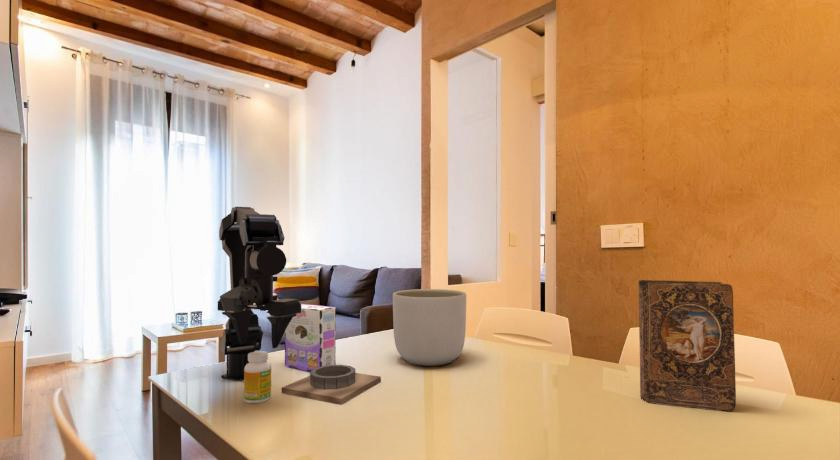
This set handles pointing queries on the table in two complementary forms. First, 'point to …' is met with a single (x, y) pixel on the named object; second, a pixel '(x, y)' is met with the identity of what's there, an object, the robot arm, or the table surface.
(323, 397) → the collar holder
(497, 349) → the table surface
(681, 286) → the book
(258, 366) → the supplement bottle
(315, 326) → the candy box
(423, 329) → the planter
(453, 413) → the table surface
